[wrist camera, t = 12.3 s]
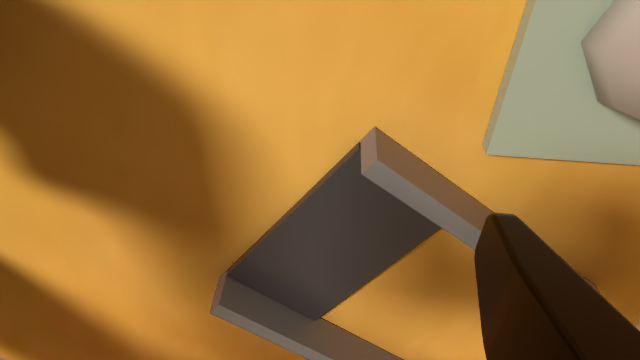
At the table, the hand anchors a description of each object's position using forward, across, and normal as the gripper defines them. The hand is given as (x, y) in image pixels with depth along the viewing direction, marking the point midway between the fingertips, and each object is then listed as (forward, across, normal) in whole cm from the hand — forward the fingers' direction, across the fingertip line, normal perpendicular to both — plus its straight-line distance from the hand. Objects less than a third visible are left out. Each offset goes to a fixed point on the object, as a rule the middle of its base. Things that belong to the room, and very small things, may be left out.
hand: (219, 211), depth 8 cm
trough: (+13, -7, +17) cm, 22 cm away
